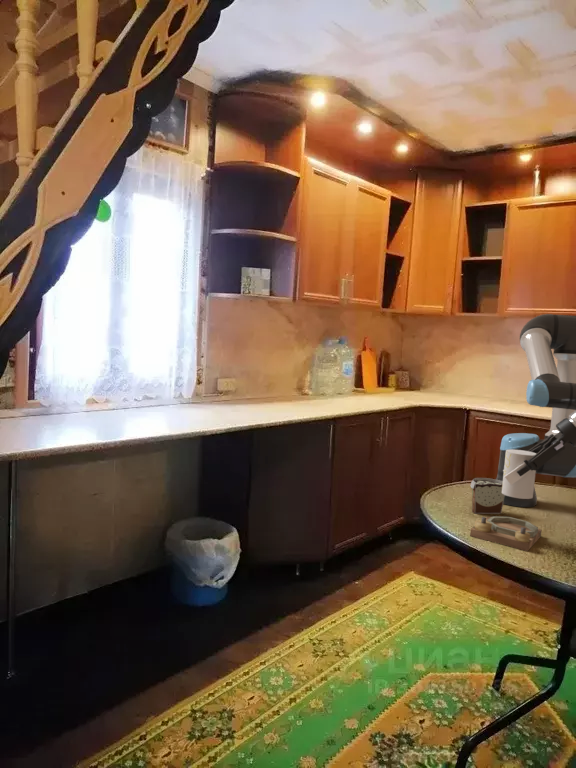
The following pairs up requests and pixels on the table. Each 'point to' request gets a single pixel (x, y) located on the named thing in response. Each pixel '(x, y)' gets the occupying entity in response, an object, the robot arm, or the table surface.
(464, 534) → the table surface
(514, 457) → the tall round pillar
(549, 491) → the table surface
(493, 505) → the food container
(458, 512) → the table surface
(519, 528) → the gear board
